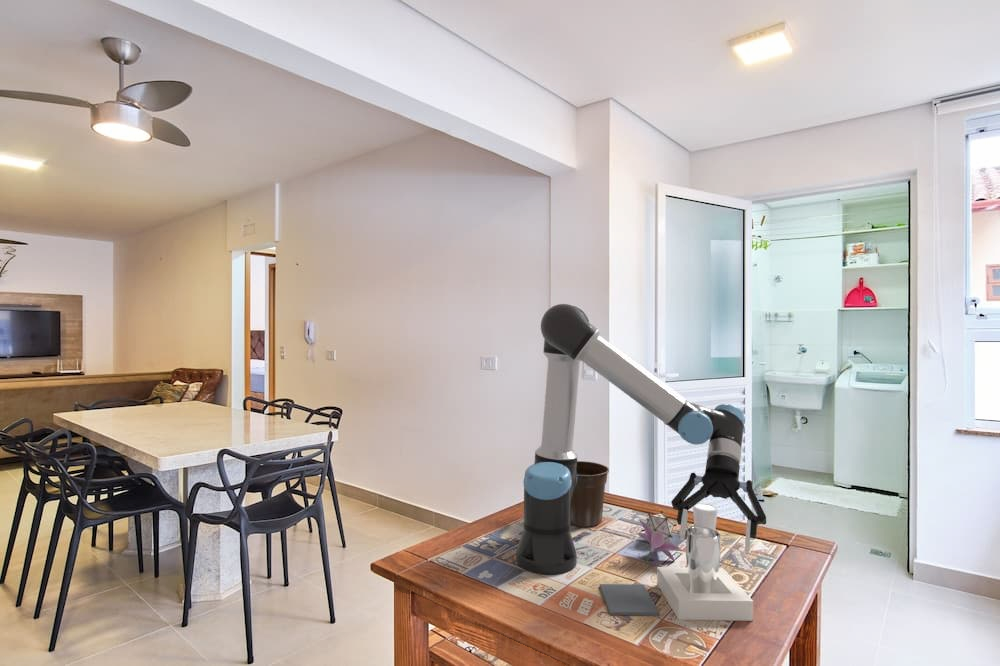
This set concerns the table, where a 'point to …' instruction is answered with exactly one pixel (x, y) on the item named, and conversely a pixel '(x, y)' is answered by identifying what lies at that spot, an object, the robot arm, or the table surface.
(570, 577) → the table surface
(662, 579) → the board
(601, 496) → the plant pot
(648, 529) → the lily
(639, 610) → the slate coaster
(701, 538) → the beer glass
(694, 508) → the white short tapered cylinder
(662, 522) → the game die
